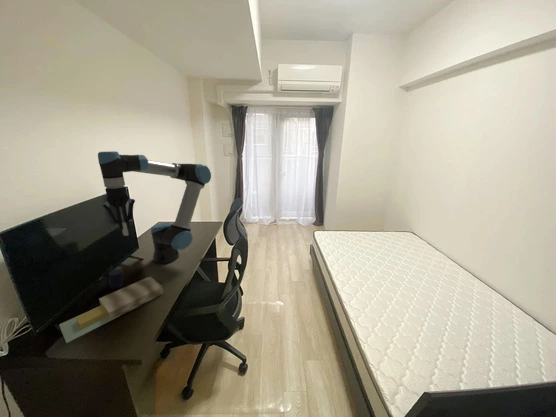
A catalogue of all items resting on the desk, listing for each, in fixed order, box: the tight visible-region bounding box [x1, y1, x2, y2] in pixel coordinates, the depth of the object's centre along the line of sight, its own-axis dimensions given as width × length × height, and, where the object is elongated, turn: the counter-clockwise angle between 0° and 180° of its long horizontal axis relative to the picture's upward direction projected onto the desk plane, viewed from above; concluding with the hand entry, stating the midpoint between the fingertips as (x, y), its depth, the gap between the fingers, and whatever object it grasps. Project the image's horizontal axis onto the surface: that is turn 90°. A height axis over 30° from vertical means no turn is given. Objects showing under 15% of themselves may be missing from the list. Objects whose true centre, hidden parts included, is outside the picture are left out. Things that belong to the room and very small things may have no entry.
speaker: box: [106, 265, 124, 290], centre depth 113 cm, size 8×6×10 cm
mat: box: [58, 305, 112, 344], centre depth 91 cm, size 14×14×1 cm
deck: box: [98, 276, 165, 321], centre depth 104 cm, size 22×14×4 cm, turn 142°
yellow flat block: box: [76, 305, 108, 329], centre depth 93 cm, size 9×6×2 cm, turn 142°
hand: (125, 234), depth 105 cm, fingers closed
